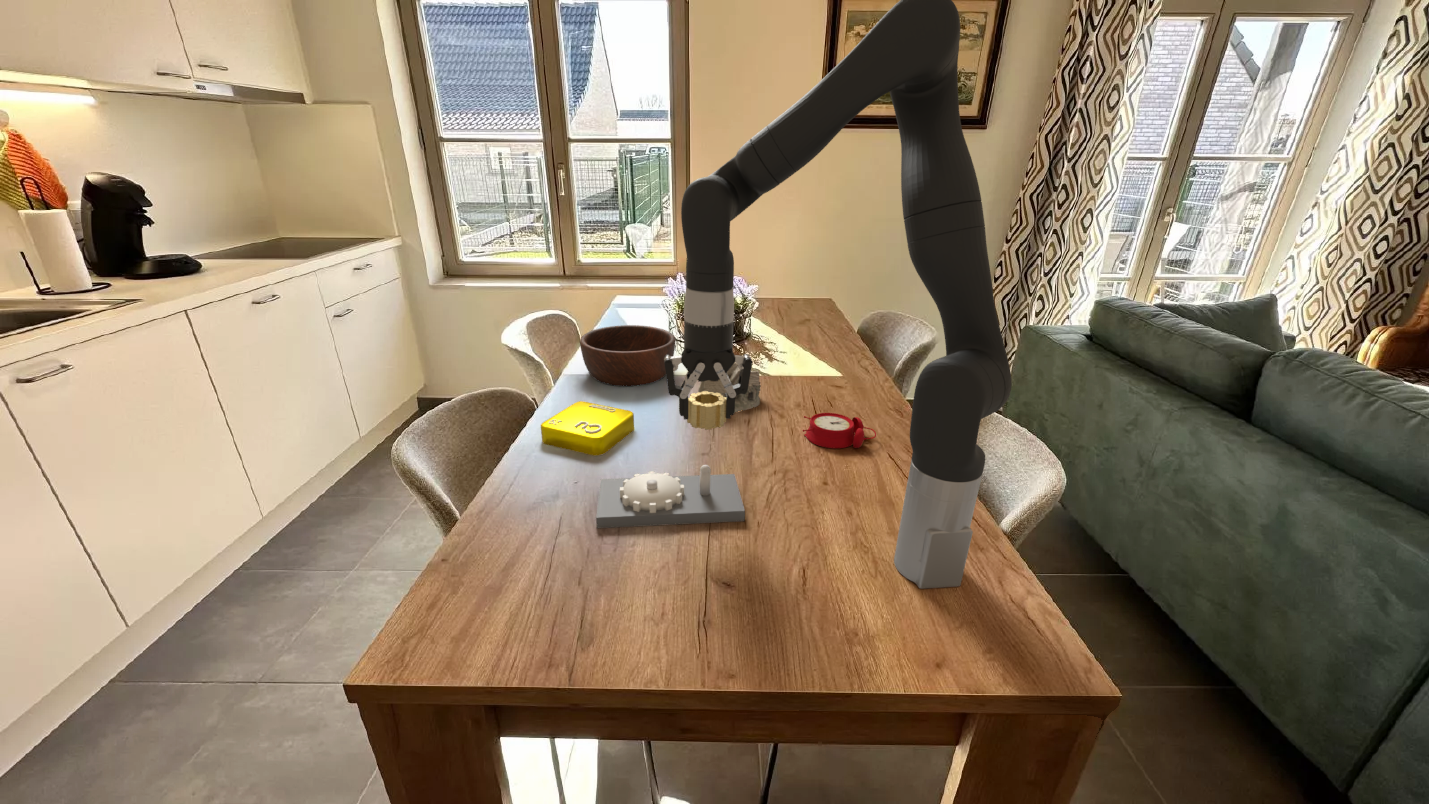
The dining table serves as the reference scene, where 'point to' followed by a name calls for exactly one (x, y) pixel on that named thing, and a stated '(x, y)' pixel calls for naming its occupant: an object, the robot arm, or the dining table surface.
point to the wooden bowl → (627, 354)
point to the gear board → (669, 500)
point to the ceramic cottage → (733, 373)
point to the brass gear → (706, 410)
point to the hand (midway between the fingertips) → (706, 416)
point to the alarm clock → (835, 431)
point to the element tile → (587, 428)
